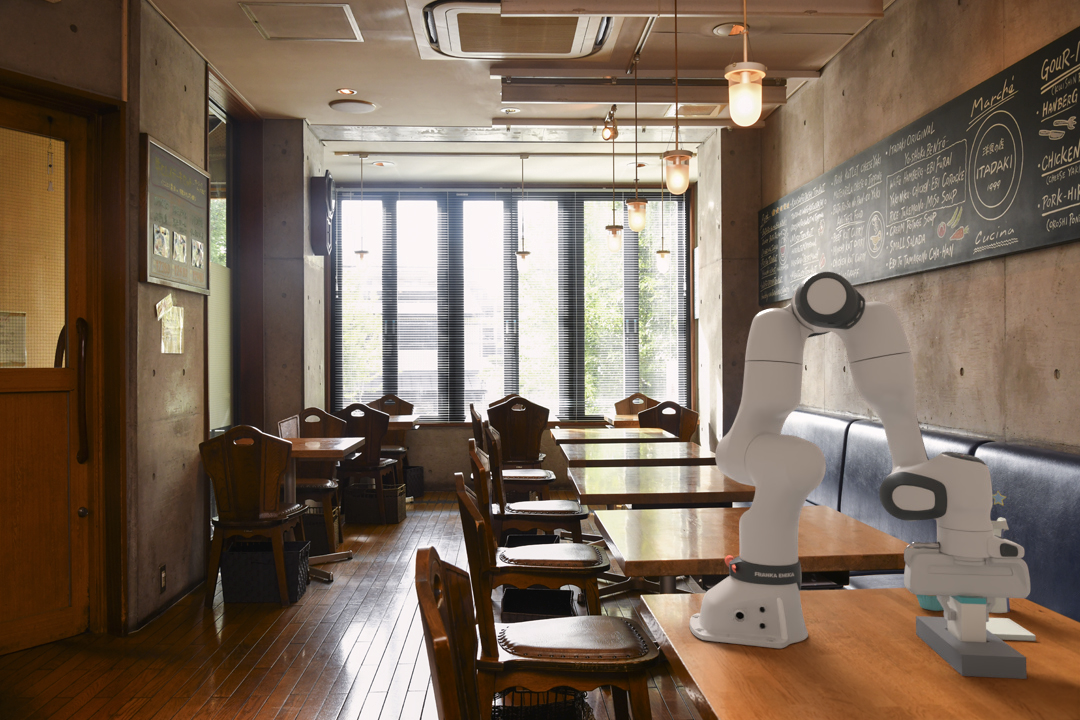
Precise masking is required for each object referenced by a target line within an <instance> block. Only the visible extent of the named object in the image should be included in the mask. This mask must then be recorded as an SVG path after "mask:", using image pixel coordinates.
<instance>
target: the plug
mask: <svg viewBox="0 0 1080 720" xmlns="http://www.w3.org/2000/svg"><path fill="white" fill-rule="evenodd" d="M947 604H948V606H949V607H950V608H952V609H954V610H955V611H956V621H951V620H950V621H949V620H947V623H948V631H949V632H950V633H951V634H952V635H954V636H955V637H956V638H957V639H959V640H960V641H967V642H986V598H984V597H983V596H950V601H949V602H947Z"/></svg>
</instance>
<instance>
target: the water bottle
mask: <svg viewBox="0 0 1080 720" xmlns="http://www.w3.org/2000/svg"><path fill="white" fill-rule="evenodd" d="M1006 498H1007V496H1006V495H1002V494H1001V492H1000V491H999V490H997V492H996V493H995V494H992V499H994V502H993V505H997V504H999V505H1001V506H1003V507H1004V502H1003V501H1004V500H1005V499H1006ZM991 522H992V525H993V535H996V536H999V537H1002V538H1004V532H1005V531H1009V530H1010V528H1009V525H1008V523H1007V522H1008V521H1007V519H1006V518H1004V517H1001V516H1000V517H998V518H997V519H996V520H991ZM995 603H996V604H995V605H994V607H993V608H992V610H991V611H990V613H995V614H1003V613H1005V614H1006V613H1009V612H1010V611H1011V605H1010V603H1011V602H1010V598H998V597H995Z"/></svg>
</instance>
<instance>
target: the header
mask: <svg viewBox="0 0 1080 720" xmlns="http://www.w3.org/2000/svg"><path fill="white" fill-rule="evenodd" d="M915 635H916V636H918V638H919V639H920V640H922V641H923V642H924V644H926V645H927V646H928V647H930V648H931V650H932V651H934V652H935V653H936V655H939V657H941V658H942V659H943V660H944V661H945V662H946V663H948V665H949V666H950V667H952V669H954V670H955V671H956V672H957V673H958V674H959V675H961V676H962V677H978V678H980V677H981V678H1000V679H1020V680H1021V679H1025V680H1027V679H1028V678H1027V675H1028V674H1027V657H1026V656H1025V655H1024V654H1022V653H1021V652H1019V651H1018V650H1016V649H1015V648H1013V646H1011V645H1010V644H1008V643H1007V642H1005V640H1004V641H1003V640H1002V639H999V638H998V637H997V636H995V635H994V634H992V633H991V632H990V631H988V630H987V629H986V642H967V641H960V640H959V639H957V638H956V637H955V636H954V635H952V634H951V633H950V632H949V631H948V623H947V620H946V619H945V618H944V616H924V615H922V616H920V615H918V616H917V615H916V616H915Z"/></svg>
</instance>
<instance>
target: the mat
mask: <svg viewBox="0 0 1080 720" xmlns="http://www.w3.org/2000/svg"><path fill="white" fill-rule="evenodd" d="M986 629H987V630H988V631H990V632H991V633H992V634H994V635H995V636H997V637H998V638H999V639H1001V640H1002V641H1003V640H1004V641H1005V640H1007V641H1009V640H1010V641H1031V642H1036V640H1037V637H1036V635H1035V634H1034V633H1033V632H1030V631H1029V630H1028V629H1026V628H1024V627H1023V626H1021V625H1020V624H1018V623H1017V622H1015V621H1013V620H1012V619H1010V618H1009V617H1008V618H1007V617H1006V618H1005V617H989V622H986Z"/></svg>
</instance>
